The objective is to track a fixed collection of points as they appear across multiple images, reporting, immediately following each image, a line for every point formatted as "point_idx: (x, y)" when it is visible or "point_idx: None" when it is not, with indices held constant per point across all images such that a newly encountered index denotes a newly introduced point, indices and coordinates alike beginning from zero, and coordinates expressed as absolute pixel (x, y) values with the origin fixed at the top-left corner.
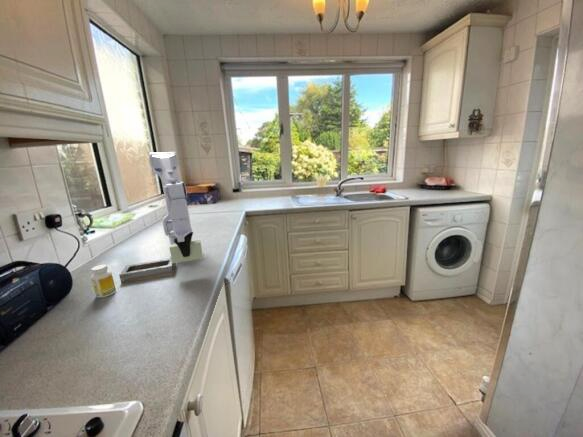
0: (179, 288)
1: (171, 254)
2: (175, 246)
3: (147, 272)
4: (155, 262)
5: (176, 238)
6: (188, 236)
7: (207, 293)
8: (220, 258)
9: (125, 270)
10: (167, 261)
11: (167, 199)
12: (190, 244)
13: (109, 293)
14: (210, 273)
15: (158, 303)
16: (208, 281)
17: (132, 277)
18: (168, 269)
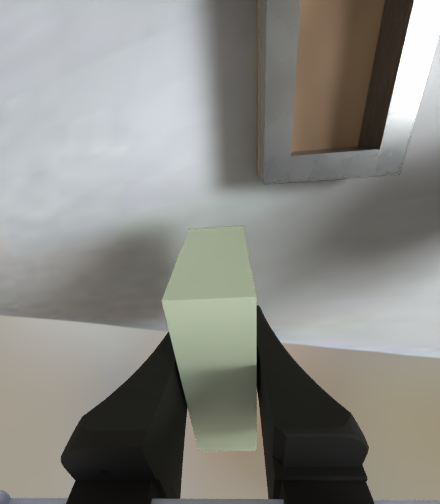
0: (112, 230)
1: (176, 263)
2: (172, 343)
3: (263, 7)
4: (406, 27)
5: (132, 462)
6: (267, 468)
7: (73, 314)
8: (327, 336)
9: None
10: (379, 129)
11: None
12: (191, 415)
13: None
14: None
15: (3, 174)
16: (148, 312)
17: None
18: (262, 160)
